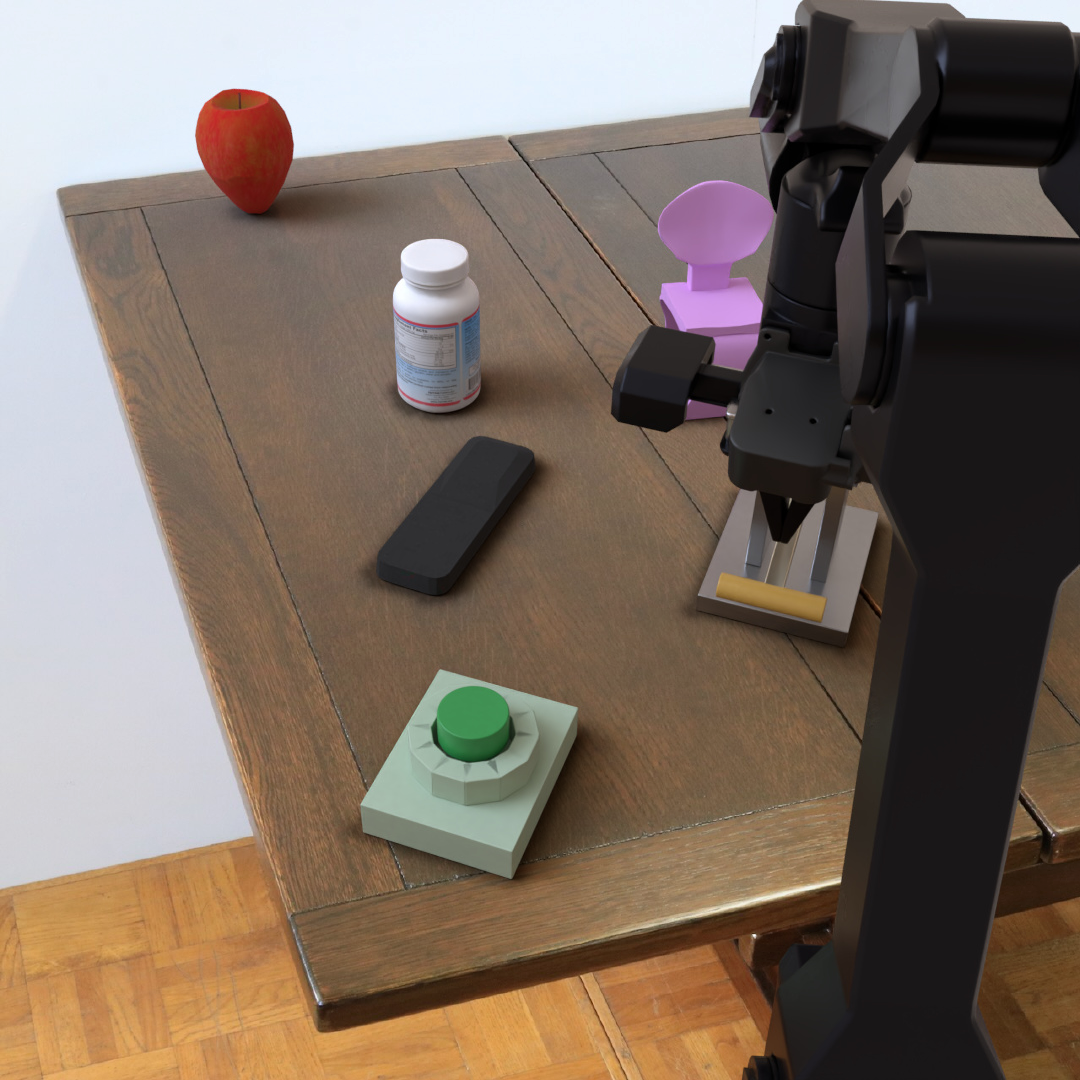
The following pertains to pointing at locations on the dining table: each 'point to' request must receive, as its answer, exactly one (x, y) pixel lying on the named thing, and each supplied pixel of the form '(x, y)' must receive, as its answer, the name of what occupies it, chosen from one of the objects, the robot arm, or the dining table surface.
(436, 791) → the push button base
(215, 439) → the dining table surface
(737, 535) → the latch bracket
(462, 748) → the button
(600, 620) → the dining table surface
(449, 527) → the remote control
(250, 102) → the apple
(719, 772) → the dining table surface
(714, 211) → the toy chair
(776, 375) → the robot arm
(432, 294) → the pill bottle
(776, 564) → the latch lever
